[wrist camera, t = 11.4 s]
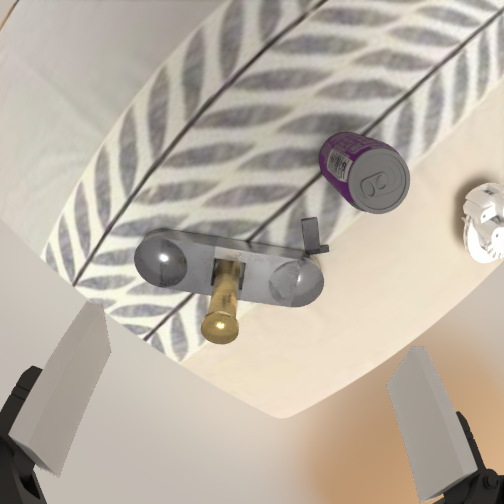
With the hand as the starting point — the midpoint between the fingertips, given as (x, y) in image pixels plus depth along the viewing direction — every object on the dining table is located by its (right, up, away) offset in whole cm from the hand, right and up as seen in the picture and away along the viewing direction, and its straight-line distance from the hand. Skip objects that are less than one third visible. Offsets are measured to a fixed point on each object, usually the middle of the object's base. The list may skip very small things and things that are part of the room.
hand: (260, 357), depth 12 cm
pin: (-3, +3, +31) cm, 31 cm away
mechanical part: (+35, +10, +27) cm, 45 cm away
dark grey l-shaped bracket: (+7, +6, +29) cm, 31 cm away
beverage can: (+11, +16, +24) cm, 31 cm away
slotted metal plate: (-3, +3, +31) cm, 31 cm away
